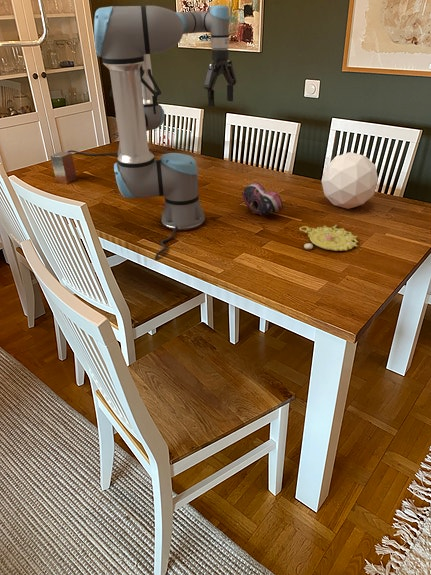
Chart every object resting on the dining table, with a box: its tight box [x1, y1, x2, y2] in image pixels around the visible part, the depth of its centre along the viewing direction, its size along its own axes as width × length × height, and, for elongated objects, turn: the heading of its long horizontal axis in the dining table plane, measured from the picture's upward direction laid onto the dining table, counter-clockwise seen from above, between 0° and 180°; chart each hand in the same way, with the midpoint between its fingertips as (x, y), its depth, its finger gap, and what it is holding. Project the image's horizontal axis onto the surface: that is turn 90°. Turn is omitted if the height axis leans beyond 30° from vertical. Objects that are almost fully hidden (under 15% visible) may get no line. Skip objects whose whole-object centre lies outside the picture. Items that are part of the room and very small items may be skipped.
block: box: [50, 151, 78, 185], centre depth 194 cm, size 6×6×12 cm
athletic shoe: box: [238, 182, 284, 217], centre depth 160 cm, size 11×22×12 cm
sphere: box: [320, 151, 379, 210], centre depth 160 cm, size 19×20×20 cm
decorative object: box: [299, 224, 359, 252], centre depth 141 cm, size 21×2×20 cm
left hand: (220, 103), depth 196 cm, fingers open, 13 cm apart
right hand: (138, 114), depth 180 cm, fingers open, 13 cm apart
